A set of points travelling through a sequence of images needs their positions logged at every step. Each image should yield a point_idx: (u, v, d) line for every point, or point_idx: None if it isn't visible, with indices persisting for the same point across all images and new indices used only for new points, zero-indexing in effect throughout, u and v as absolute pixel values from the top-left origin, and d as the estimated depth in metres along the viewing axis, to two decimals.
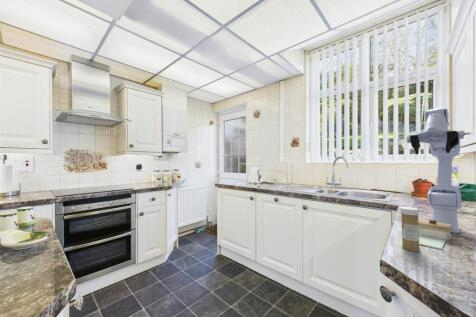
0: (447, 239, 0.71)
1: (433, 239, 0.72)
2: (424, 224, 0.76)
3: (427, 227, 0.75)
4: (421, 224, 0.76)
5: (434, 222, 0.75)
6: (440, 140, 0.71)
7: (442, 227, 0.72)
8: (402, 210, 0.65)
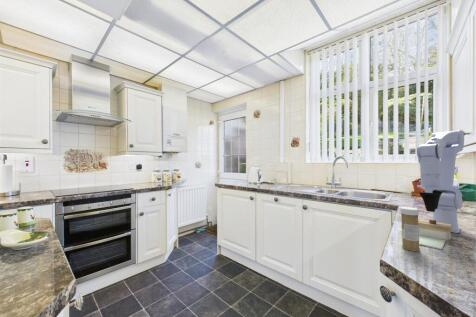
0: (447, 239, 0.71)
1: (433, 239, 0.72)
2: (424, 224, 0.76)
3: (427, 227, 0.75)
4: (421, 224, 0.76)
5: (434, 222, 0.75)
6: None
7: (442, 227, 0.72)
8: (402, 210, 0.65)
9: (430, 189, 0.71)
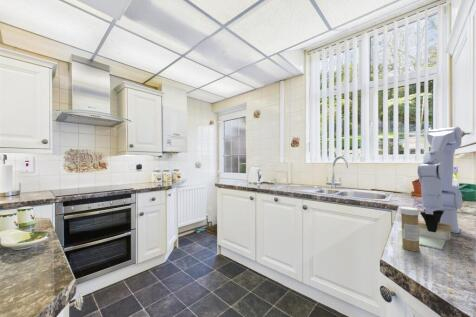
0: (447, 239, 0.71)
1: (433, 239, 0.72)
2: (424, 224, 0.76)
3: None
4: (421, 224, 0.76)
5: None
6: None
7: (442, 227, 0.72)
8: (402, 210, 0.65)
9: (431, 210, 0.71)
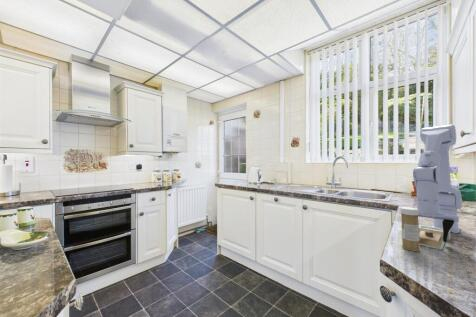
0: (447, 239, 0.71)
1: None
2: (439, 240, 0.67)
3: (439, 242, 0.67)
4: (439, 241, 0.66)
5: None
6: None
7: (441, 236, 0.70)
8: (402, 210, 0.65)
9: (458, 217, 0.65)
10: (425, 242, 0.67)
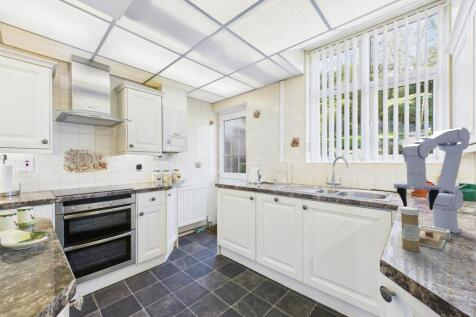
0: (447, 239, 0.71)
1: None
2: (439, 240, 0.67)
3: (439, 242, 0.67)
4: (439, 241, 0.66)
5: None
6: None
7: (441, 236, 0.70)
8: (402, 210, 0.65)
9: (442, 187, 0.74)
10: (425, 242, 0.67)
